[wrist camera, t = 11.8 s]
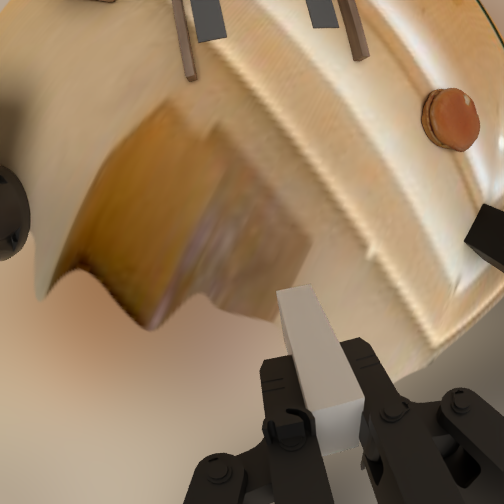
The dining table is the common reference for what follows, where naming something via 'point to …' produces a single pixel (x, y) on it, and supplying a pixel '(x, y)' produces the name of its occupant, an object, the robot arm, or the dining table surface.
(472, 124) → the burger
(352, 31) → the u-shaped frame
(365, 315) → the dining table surface
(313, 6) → the pads
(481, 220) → the black tall block
